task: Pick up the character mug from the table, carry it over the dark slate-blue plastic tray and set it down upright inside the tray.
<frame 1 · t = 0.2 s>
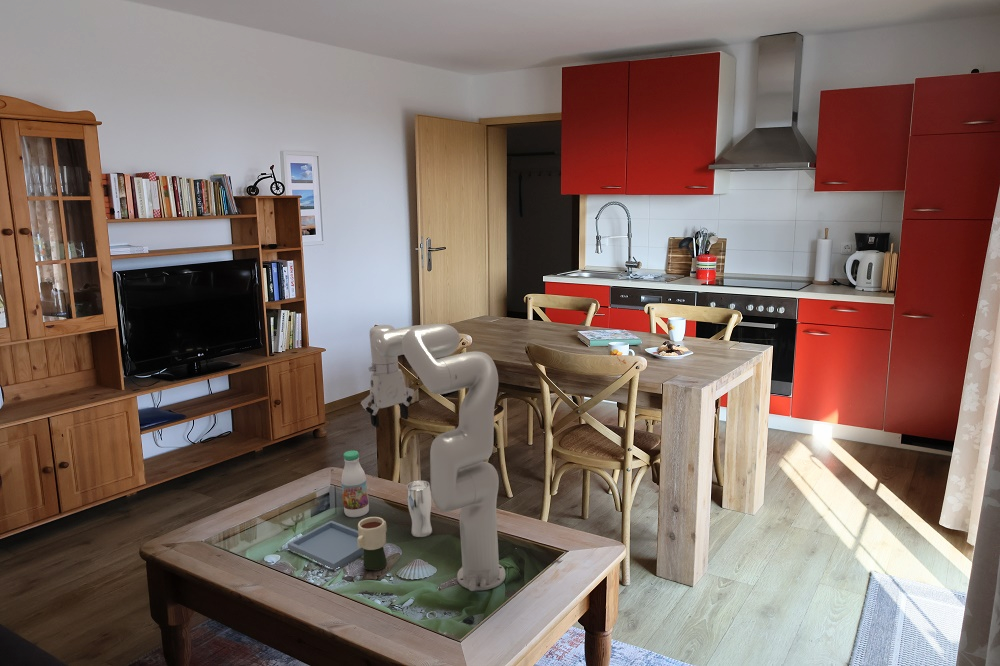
hand: (390, 422, 218), 31 cm above the table, tool pointing down, fingers open, 9 cm apart
tray: (333, 548, 208), on the table
beer glass: (421, 532, 215), on the table
milk bottle: (357, 512, 229), on the table
character mug: (375, 567, 198), on the table
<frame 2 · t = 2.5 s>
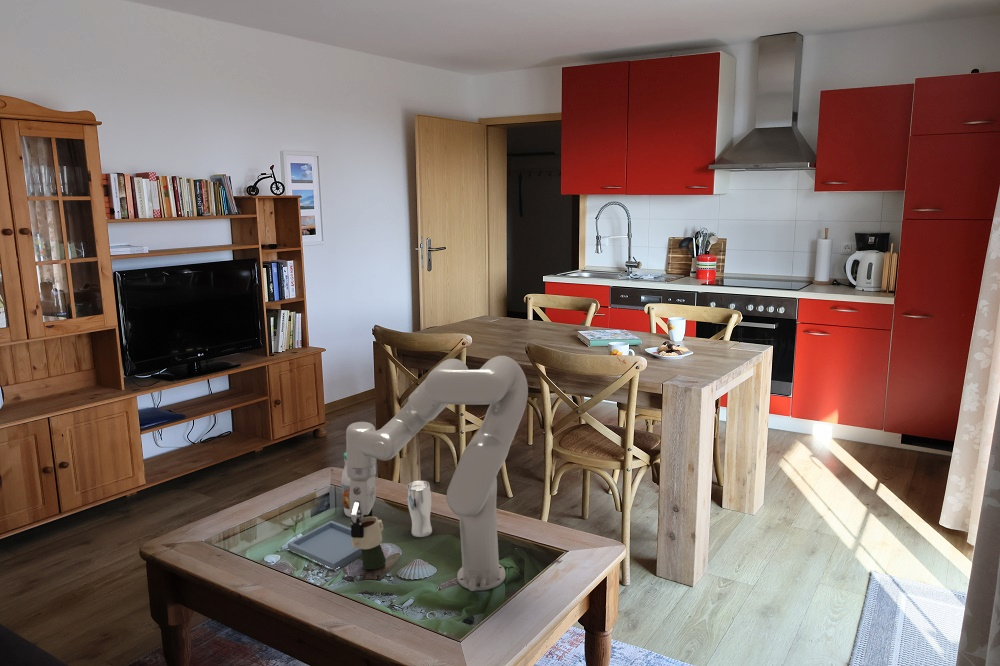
hand: (362, 527, 196), 11 cm above the table, tool pointing down, fingers open, 9 cm apart
character mug: (375, 566, 197), on the table, touching gripper
everything else where it was.
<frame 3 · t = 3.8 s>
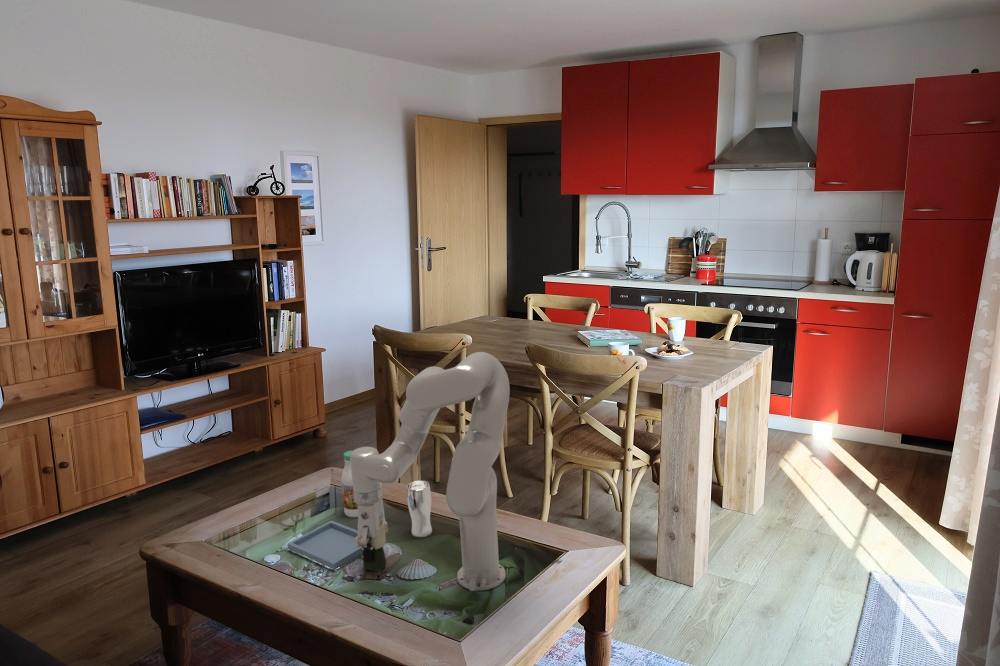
hand: (373, 553, 197), 4 cm above the table, tool pointing down, fingers closed on character mug, 8 cm apart
character mug: (375, 567, 198), on the table, touching gripper
everything else where it was.
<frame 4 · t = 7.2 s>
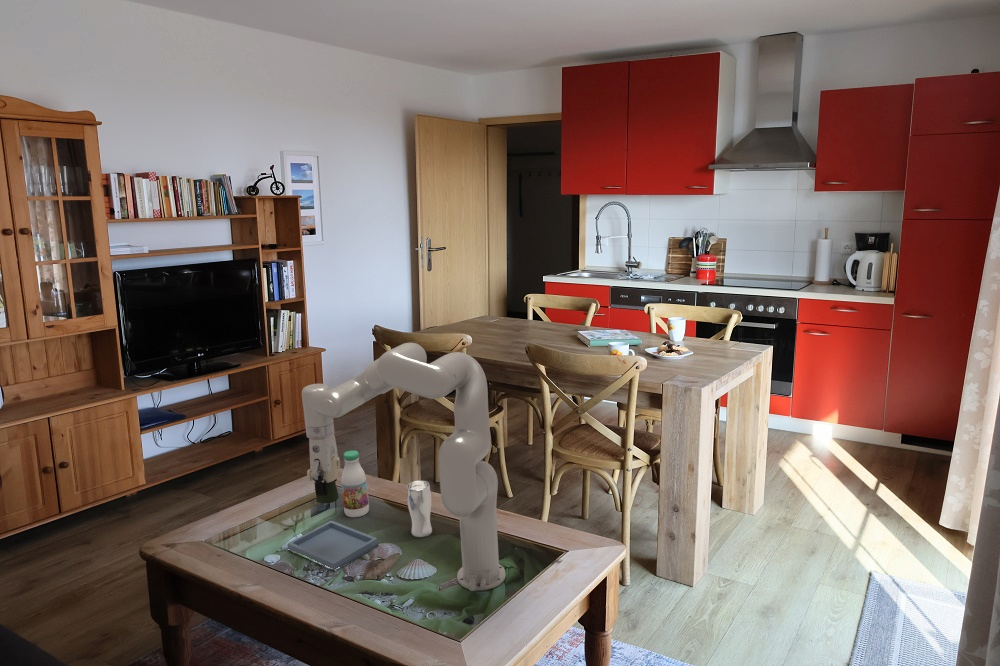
hand: (326, 487, 204), 19 cm above the table, tool pointing down, fingers closed on character mug, 8 cm apart
character mug: (327, 501, 204), point 15 cm above the table, touching gripper
everything else where it was.
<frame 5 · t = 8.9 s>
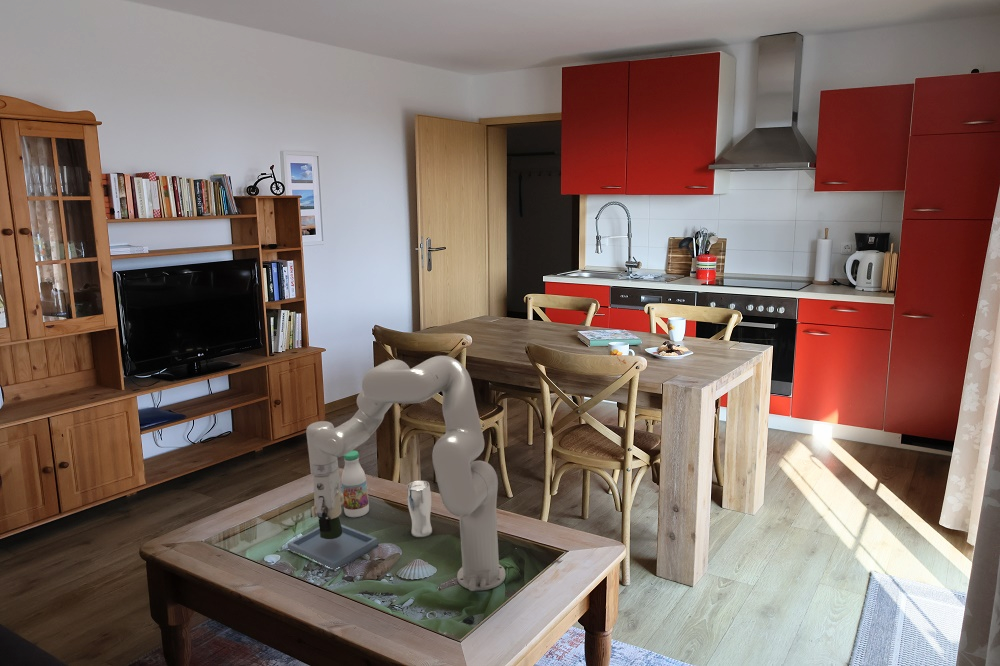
hand: (330, 523, 206), 8 cm above the table, tool pointing down, fingers closed on character mug, 8 cm apart
character mug: (331, 536, 207), point 4 cm above the table, touching gripper
everything else where it was.
when the fingers open (6 cm above the table, at t = 10.4 s): character mug drops 1 cm, resting on tray.
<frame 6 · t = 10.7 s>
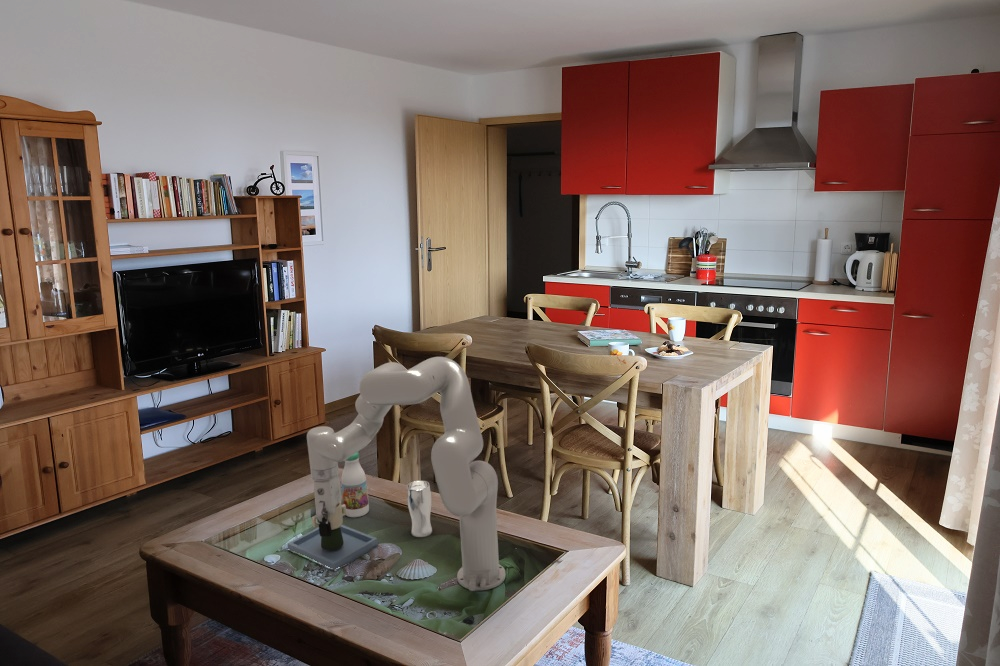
hand: (331, 527, 206), 7 cm above the table, tool pointing down, fingers open, 9 cm apart
character mug: (332, 547, 207), point 1 cm above the table, touching gripper, tray
everything else where it was.
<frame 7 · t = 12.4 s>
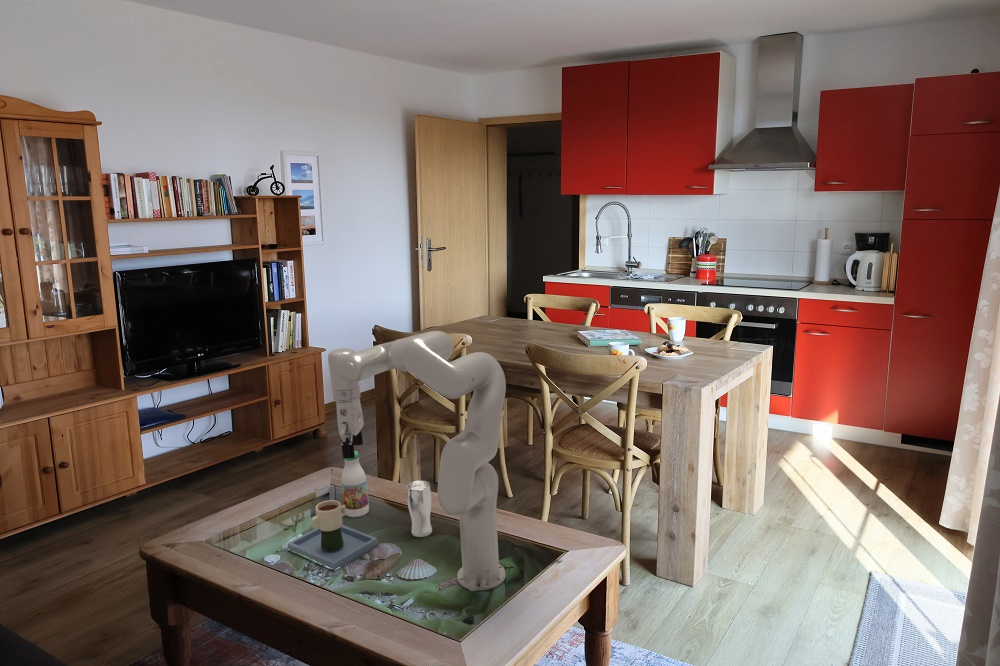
hand: (353, 451, 205), 28 cm above the table, tool pointing down, fingers open, 9 cm apart
character mug: (332, 548, 207), point 1 cm above the table, touching tray
everything else where it was.
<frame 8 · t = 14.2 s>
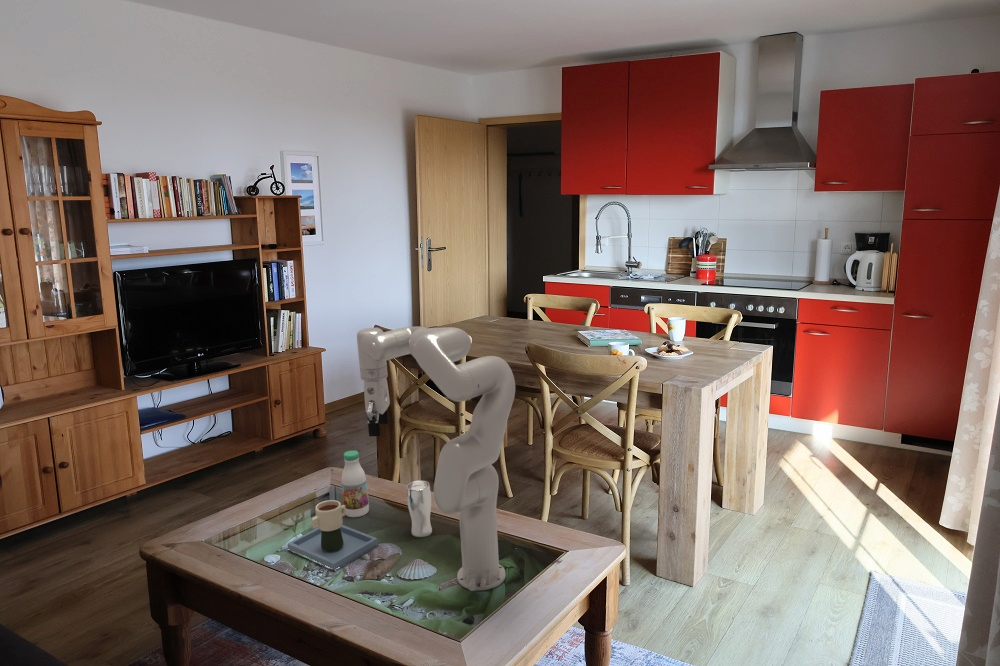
hand: (379, 429, 208), 32 cm above the table, tool pointing down, fingers open, 9 cm apart
nothing on the table moved.
at the end: character mug inside the target area on the tray (0.8 cm from its centre), point 0.6 cm above the tray's base; character mug tilted 0°; the gripper is holding nothing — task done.
